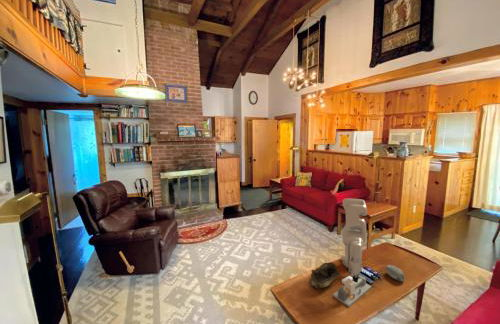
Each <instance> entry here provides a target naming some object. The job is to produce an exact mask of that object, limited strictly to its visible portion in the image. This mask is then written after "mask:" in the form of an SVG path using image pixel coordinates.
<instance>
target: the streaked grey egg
mask: <svg viewBox="0 0 500 324" xmlns="http://www.w3.org/2000/svg"><path fill="white" fill-rule="evenodd" d="M385 272H386V273H387V275H388V276H389V277H390V278H391V279H393V280H396V281H399V282H404V281H405V279H406V277H405V274H404V272H403V270H401V269H400V268H398V267H397V266H395V265H392V264H388V265H386V266H385Z"/></svg>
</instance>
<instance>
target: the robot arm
mask: <svg viewBox="0 0 500 324" xmlns="http://www.w3.org/2000/svg"><path fill="white" fill-rule="evenodd" d="M342 205H343V209H344V211H345V225H344V227H343V228H342V231H341V232H342V236H341V237H342V244H343V245H344V255H343V254H341V256H340V259H342V264H343V266H344V267H346V268H348V273H349V274H350V277H352V280H353V281H354V282H356V283H357V282H358V276H359V274H360V273H361V272H362V268H363V264H362V261H363V259H362V258H363V257H362V255H363V247H364V244H366V243H367V236H368V235H367V223H366V220H365V218H360V216H367V215H368V207H367V204H366V201H365V200H364V199H361V198H349V197H348V198H344V199H343V200H342ZM349 229H350V230H349Z"/></svg>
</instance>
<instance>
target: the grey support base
mask: <svg viewBox="0 0 500 324" xmlns="http://www.w3.org/2000/svg"><path fill="white" fill-rule="evenodd" d="M360 278H361V279H363V282H361V283H360V284H359V285H358V286H356V287H355V293H353V294H352V295H349V294H348V293H347V294H346V291H345V290H344V286H345V285H344V286H343V285H341V287H340V288H338V290H337V291H336V292H334V293H333V295H332V296H333V297H334V298H335V299H336V300H338V301H339V302H341V303H342V304H344V305H345V306H347V307H348V308H350V307H351V306H353V304H355V303H356V302H358V300H359V299H361V298H362V297H363V296H364V295H365V294H367V292H369V291H370V290H372V285H370V284H368V283H367V278H366V277H365V276H362V275H359V276H358V279H360ZM351 280H352V281H353V279H351Z"/></svg>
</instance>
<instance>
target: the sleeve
mask: <svg viewBox="0 0 500 324" xmlns="http://www.w3.org/2000/svg"><path fill="white" fill-rule="evenodd" d="M352 280H353V279H350V278H347V279H346V280H345V281H344V290H345V289H346V288H348V289H349V290H350V293H348V294H349V295H352V294H353V293H355V282H354V281H352Z"/></svg>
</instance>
